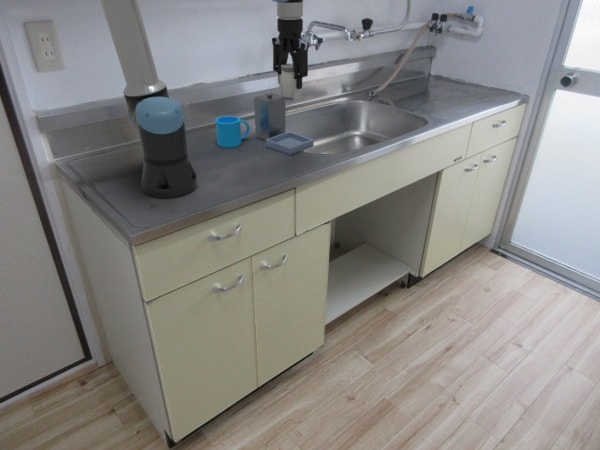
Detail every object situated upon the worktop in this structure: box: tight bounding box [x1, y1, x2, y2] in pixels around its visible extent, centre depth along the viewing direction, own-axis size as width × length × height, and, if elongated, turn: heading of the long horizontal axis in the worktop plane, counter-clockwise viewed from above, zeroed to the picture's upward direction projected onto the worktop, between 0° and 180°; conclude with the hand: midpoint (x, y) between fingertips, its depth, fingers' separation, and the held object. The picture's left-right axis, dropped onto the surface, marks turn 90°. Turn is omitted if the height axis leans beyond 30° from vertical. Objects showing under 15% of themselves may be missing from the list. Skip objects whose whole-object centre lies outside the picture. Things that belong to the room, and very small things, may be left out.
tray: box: [265, 130, 315, 156], centre depth 154 cm, size 11×11×2 cm
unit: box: [253, 92, 286, 141], centre depth 159 cm, size 8×7×15 cm
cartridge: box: [281, 62, 295, 101], centre depth 143 cm, size 5×5×10 cm
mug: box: [215, 115, 251, 148], centre depth 156 cm, size 12×8×8 cm
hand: (290, 96), depth 146 cm, fingers closed on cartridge, 5 cm apart
